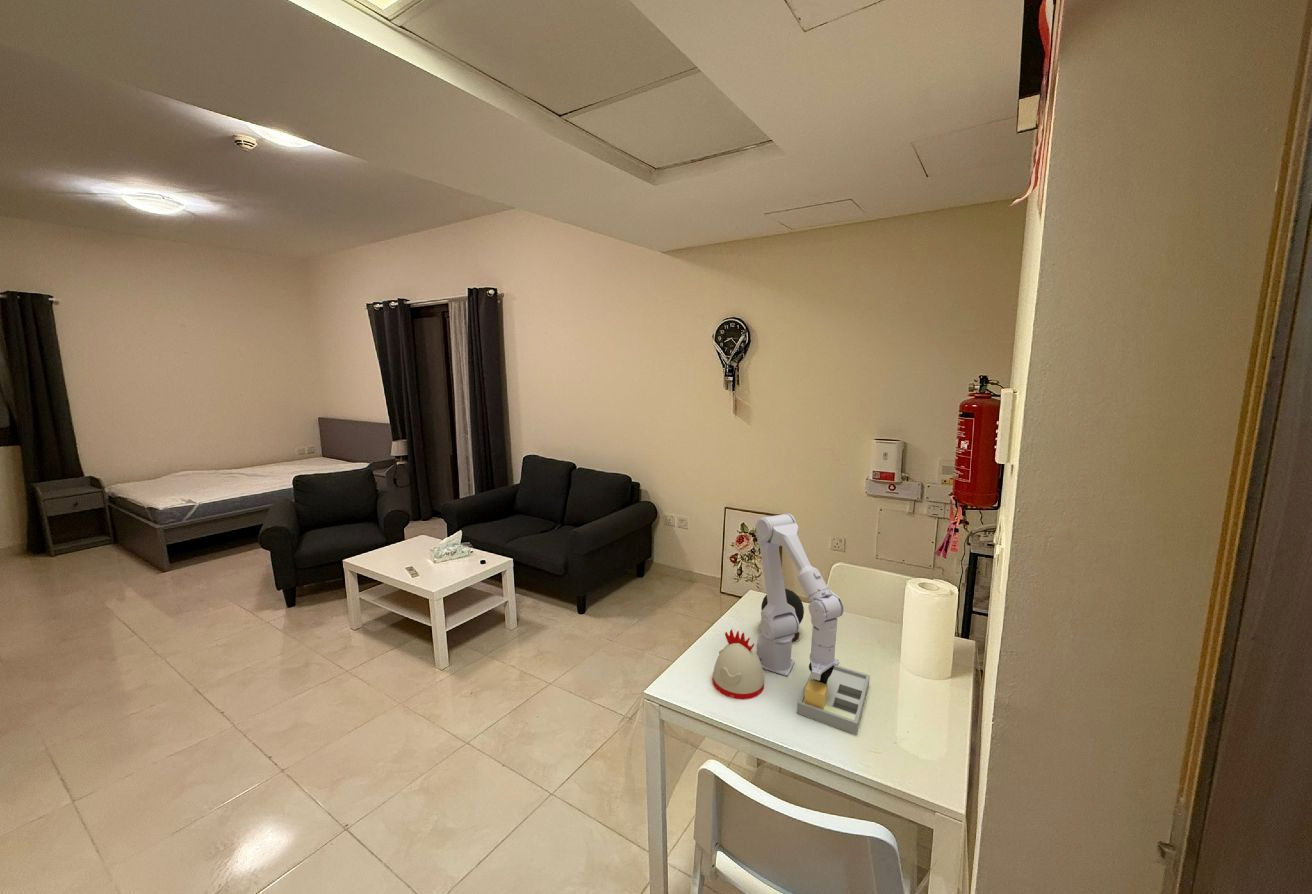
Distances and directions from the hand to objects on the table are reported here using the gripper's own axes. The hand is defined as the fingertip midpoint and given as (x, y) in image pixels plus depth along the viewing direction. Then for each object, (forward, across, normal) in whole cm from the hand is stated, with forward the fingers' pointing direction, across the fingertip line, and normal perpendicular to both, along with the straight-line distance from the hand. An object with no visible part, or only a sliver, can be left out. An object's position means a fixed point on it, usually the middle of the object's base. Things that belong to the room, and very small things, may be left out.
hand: (820, 689), depth 127 cm
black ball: (+4, +27, +18) cm, 32 cm away
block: (+1, -4, 0) cm, 4 cm away
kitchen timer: (+4, -3, +21) cm, 21 cm away
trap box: (+3, +3, -3) cm, 6 cm away
